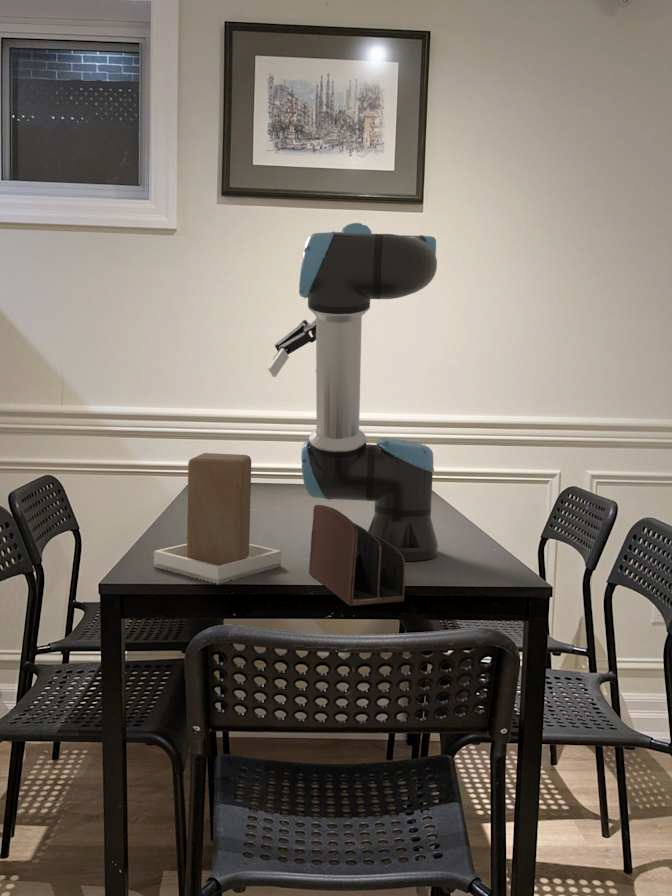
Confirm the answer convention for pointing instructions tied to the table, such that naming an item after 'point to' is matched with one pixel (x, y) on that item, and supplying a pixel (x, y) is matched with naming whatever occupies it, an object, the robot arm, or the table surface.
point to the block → (218, 508)
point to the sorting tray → (253, 564)
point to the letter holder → (354, 560)
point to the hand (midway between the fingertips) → (294, 374)
